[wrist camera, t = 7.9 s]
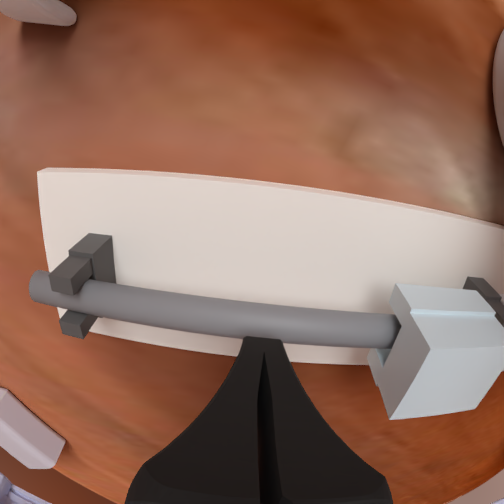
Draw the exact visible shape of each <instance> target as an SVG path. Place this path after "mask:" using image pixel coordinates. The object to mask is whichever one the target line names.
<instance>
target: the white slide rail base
mask: <svg viewBox="0 0 504 504" xmlns="http://www.w3.org/2000/svg"><path fill="white" fill-rule="evenodd" d="M37 178H38V192H39V203H40V213H41V221H42V229H43V236H44V243H45V250H46V256H47V261H48V267H49V272H47V271H42V270H37V271H36V272H34V274H33V275H32V277H31V279H30V283H29V293H30V297H31V299H32V300H33V301H35V302H38V303H42V304H46V305H50V306H54V307H57V308H58V312H59V316H60V320H59V322H60V326H61V330H62V333H63V334H65V335H69V336H73V337H77V338H81V339H84V338H85V336H86V335H87V333H88V332H89V331H90V332H94V333H99V334H103V335H108V336H113V337H117V338H122V339H127V340H132V341H138V342H143V343H148V344H154V345H160V346H166V347H172V348H178V349H184V350H191V351H198V352H205V353H212V354H220V355H228V356H238V354H239V351H240V348H241V345H242V341H243V338H244V337H246V336H252V337H262V338H272V339H280V340H281V341H282V342H283V345H284V348H285V351H286V353H287V356H288V358H289V361H290V362H304V363H321V364H345V365H369V363H368V360H367V356H368V354H369V351H370V349H371V348H379V349H392V347H393V345H394V343H395V340H396V338H397V336H398V333H399V331H400V329H401V324H400V322H399V320H398V318H397V316H396V315H395V313H394V311H393V309H392V307H391V305H390V304H389V300H390V297H391V294H392V292H393V289H394V286H395V283H401V284H411V285H422V286H432V287H443V288H454V289H465V290H476V291H477V292H478V293H479V294H480V295H481V296H482V297H483V298H484V299H485V300H486V302H487V303H488V304H489V305H490V306H491V307H492V308H493V310H494V311H495V312H496V314H495V318H496V319H497V320H498V321H499V322H500V324H501V325H502V326H503V327H504V226H503V225H499V224H495V223H491V222H487V221H483V220H479V219H475V218H471V217H466V216H462V215H458V214H453V213H449V212H444V211H440V210H435V209H430V208H426V207H421V206H416V205H411V204H406V203H401V202H396V201H390V200H385V199H379V198H374V197H368V196H362V195H356V194H350V193H344V192H338V191H332V190H325V189H318V188H311V187H304V186H297V185H290V184H282V183H274V182H266V181H257V180H249V179H239V178H230V177H220V176H209V175H198V174H186V173H172V172H158V171H141V170H121V169H94V168H46V169H43V170H40V171H38V172H37ZM502 371H504V368H503V370H502Z"/></svg>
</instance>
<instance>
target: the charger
mask: <svg viewBox="0 0 504 504" xmlns="http://www.w3.org/2000/svg"><path fill="white" fill-rule="evenodd" d="M64 444H65V439H64V438H63V437H61V436H60V435H59V434H57V433H56V432H55V431H54V430H52V429H51V428H50V427H49V426H48V425H46V424H45V423H44V422H43V421H42V420H40V419H39V418H38V417H37V416H36V415H35V414H33V413H32V412H31V411H30V410H29V409H28V408H27V407H26V406H25V405H23V404H22V403H21V402H20V401H19V400H18V399H17V398H16V397H15V396H14V395H13V394H12V393H11V392H10V391H9V390H8V389H5V388H2V387H0V446H1V447H2V448H4V449H5V450H6V451H7V452H8V453H10V454H11V455H12V456H13V457H15V458H16V459H17V460H19V461H20V462H21V463H22V464H24V465H25V466H27V467H28V468H29V469H48V468H51V467H53V466H54V465H55V464H56V462H57V460H58V457H59V455H60V453H61V451H62V449H63V446H64Z"/></svg>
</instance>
